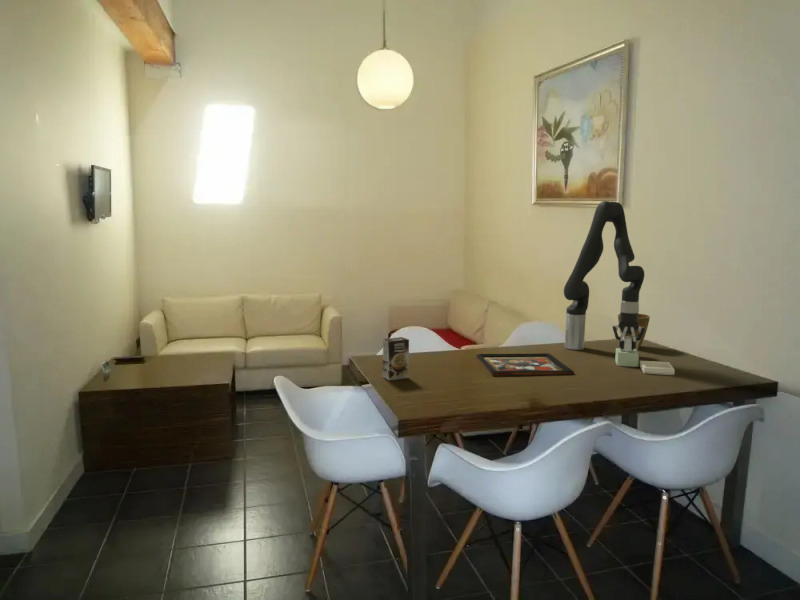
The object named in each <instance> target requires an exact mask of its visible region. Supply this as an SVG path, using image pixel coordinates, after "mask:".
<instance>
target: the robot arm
mask: <svg viewBox="0 0 800 600" xmlns="http://www.w3.org/2000/svg"><path fill="white" fill-rule="evenodd" d="M607 223H612V225H613V226H614V229H615V235H614V240H613V241H614V242H613V248H614V251H615V255H616V258H617V265H618V276H619V279H620V280H621V281H622V282H624V283H629V285H628V286H625V287H624V288H622V291H621V301H620V302H621V303H620V311H619V312H620V313H619V314H620V323H619V322H618V325H612V326H611V327H612V331H613V334H614V337H615V339H616V340H618V341H619V345H618V347H619V348H621V349H623V339H624V336H625V334H631V335H632V337H633V342H632V350H634V349H635V348H636V341H638V340H641V337H642V335H643V333H644V331H645V328H644V327H640V326H639V325H638V314H640V302H639V299H640V291H641V288H642V285H643V283H644V280H645V270H644V268H643V267H642V266H640V265H630V264H629V263H632V262H633V261H634V260H635V257H636V256H635V253H634V251H633V248H632V245H631V241H630V238H629V233H628V228H627V221H626V216H625V211H624V206H623V205H622V204H621V203H620V202H618V201H608V200H603V201H601V202H599V203H598V205H597V206H596V209H595V212H594V214H593V218H592V221H591V224H590V228H589V231H588V233H587V235H586V238H585V241H584V243H583V245H582V248H581V250H580V253H579V256H578V258H577V261H576V263H575V265H574V267H573V269H572V272H571V274H570V276H569V277H568V279H567V281H566V283H565V285H564V288H563V296H564V297H565V299H566V300H568V301H572V303H571V304H570V305H568V306H567V308H566V315H565V328H564V329H565V332H564V349H565V350H566V349H567V350H574V351H575V350H576V351H577V350H578V351H580V350H584V349H585V340H586V338H585V336H586V321H587V320H586V319H587V317H586V315H587V310H588V307H589V301H590V300H589V299H590V288H589V285H588V283H587V282H586V280H585V281H584V279H585V278H586V276H587V275H588V274H589V273H590V272H591V271H592V270H593V269H594V268H595V266H596V265H597V264H598V263H599V261H600V259H601V257H602V254H603V252H604V240H603V230H604V228H605V225H606V224H607ZM619 328H620V329H621V331H622V332H621V333H620V335H619V334H618V330H620V329H619ZM638 328H639V331H640V332H639V334H638V336H637V337H635V331H636V330H637V329H638Z"/></svg>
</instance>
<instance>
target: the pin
mask: <svg viewBox="0 0 800 600" xmlns="http://www.w3.org/2000/svg"><path fill="white" fill-rule="evenodd" d="M632 342H633V337H624V339H623V349H622V352H632Z"/></svg>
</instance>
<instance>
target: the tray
mask: <svg viewBox="0 0 800 600" xmlns="http://www.w3.org/2000/svg"><path fill="white" fill-rule="evenodd" d="M638 367H639V368H640V370H641V371H642V373H643V374H648V375H665V376H675V372H676V371H675V368H674V366H673V365H672V364H671V363H670V362H668V361H653V360H652V361H650V360H639V362H638Z"/></svg>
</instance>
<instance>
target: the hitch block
mask: <svg viewBox="0 0 800 600" xmlns="http://www.w3.org/2000/svg"><path fill="white" fill-rule="evenodd" d="M639 355H640V353H639V352H638V349H637V350H636V349H634V350H632V352H622V349H621V348H620V347H615V359H614V360H615V361H614V362H615V364H616V366H618V367H634V368H636V367H637V368H638V367H639V361H640V357H639Z"/></svg>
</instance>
